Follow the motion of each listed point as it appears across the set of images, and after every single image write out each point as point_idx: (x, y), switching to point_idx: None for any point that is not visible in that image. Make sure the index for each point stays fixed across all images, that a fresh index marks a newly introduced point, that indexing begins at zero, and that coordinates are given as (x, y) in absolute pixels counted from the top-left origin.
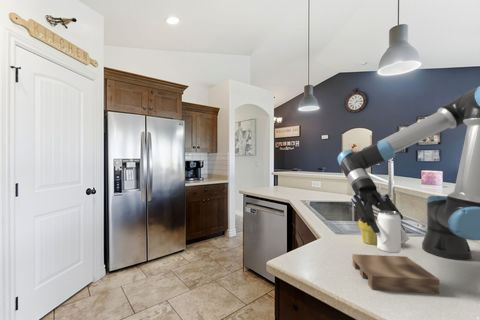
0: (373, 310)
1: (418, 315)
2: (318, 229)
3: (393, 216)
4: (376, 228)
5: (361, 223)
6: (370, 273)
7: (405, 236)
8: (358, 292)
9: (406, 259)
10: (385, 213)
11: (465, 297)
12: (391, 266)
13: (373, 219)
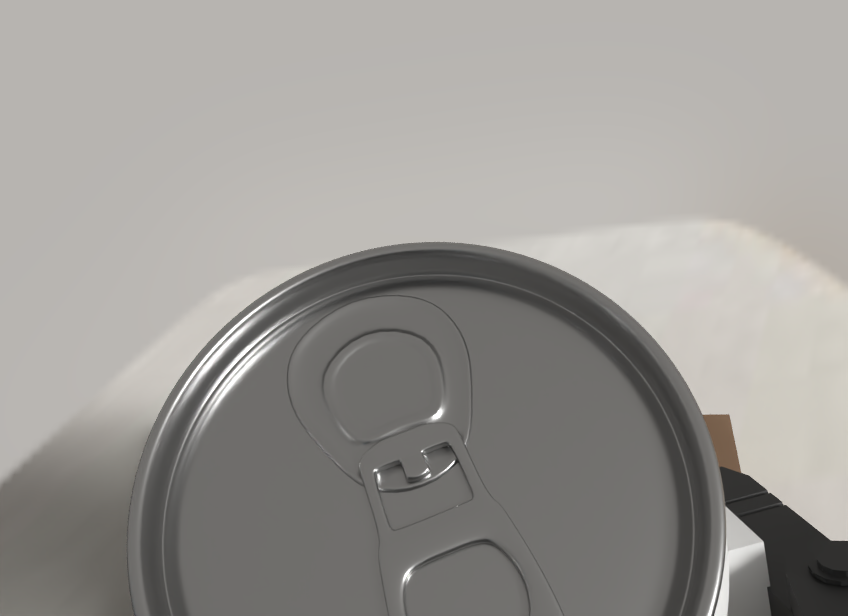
0: (751, 245)
1: (524, 239)
2: None
3: (434, 273)
4: (735, 490)
5: None
6: (731, 459)
7: None
8: (811, 412)
9: None
10: (607, 299)
11: (106, 437)
12: None
13: (838, 553)
